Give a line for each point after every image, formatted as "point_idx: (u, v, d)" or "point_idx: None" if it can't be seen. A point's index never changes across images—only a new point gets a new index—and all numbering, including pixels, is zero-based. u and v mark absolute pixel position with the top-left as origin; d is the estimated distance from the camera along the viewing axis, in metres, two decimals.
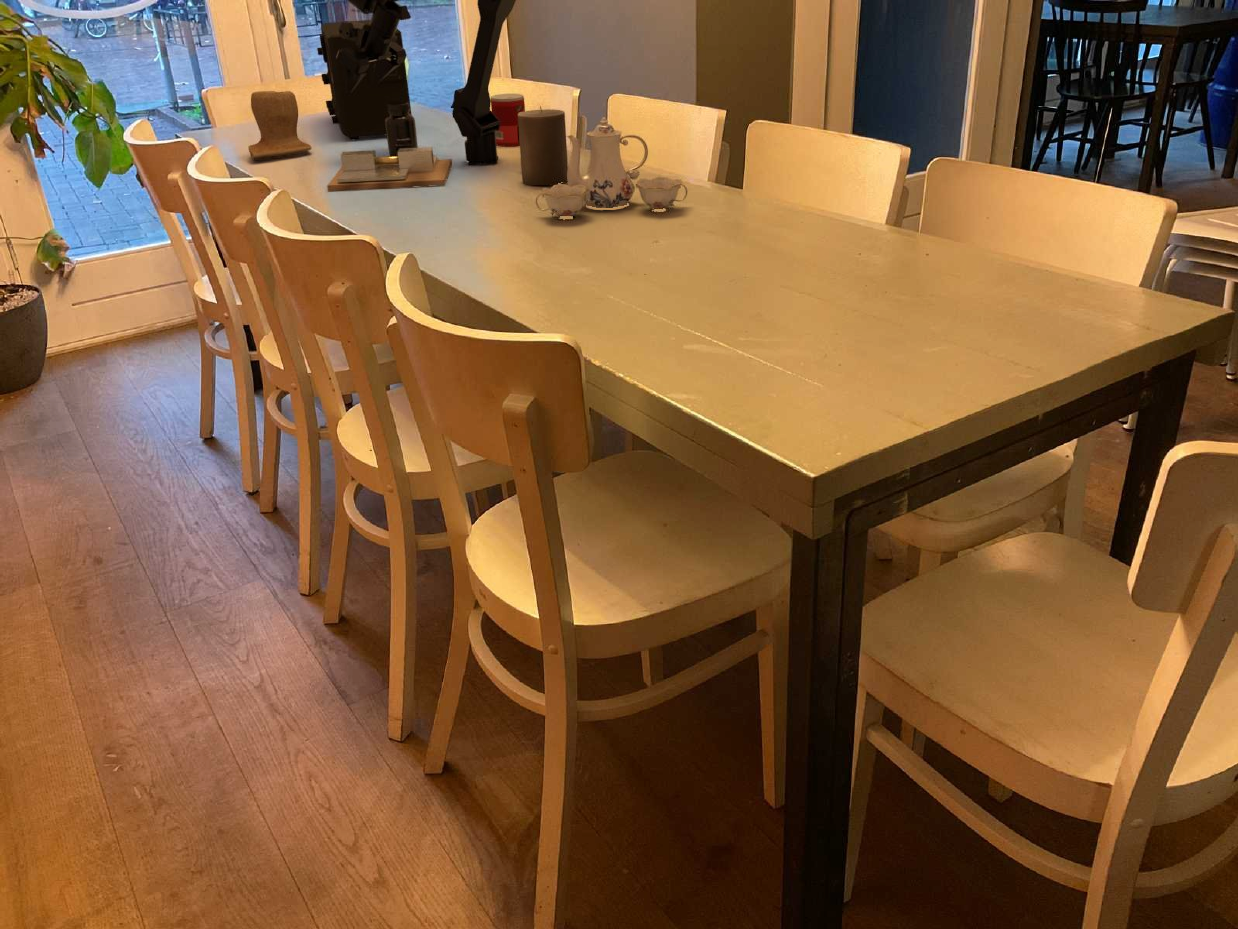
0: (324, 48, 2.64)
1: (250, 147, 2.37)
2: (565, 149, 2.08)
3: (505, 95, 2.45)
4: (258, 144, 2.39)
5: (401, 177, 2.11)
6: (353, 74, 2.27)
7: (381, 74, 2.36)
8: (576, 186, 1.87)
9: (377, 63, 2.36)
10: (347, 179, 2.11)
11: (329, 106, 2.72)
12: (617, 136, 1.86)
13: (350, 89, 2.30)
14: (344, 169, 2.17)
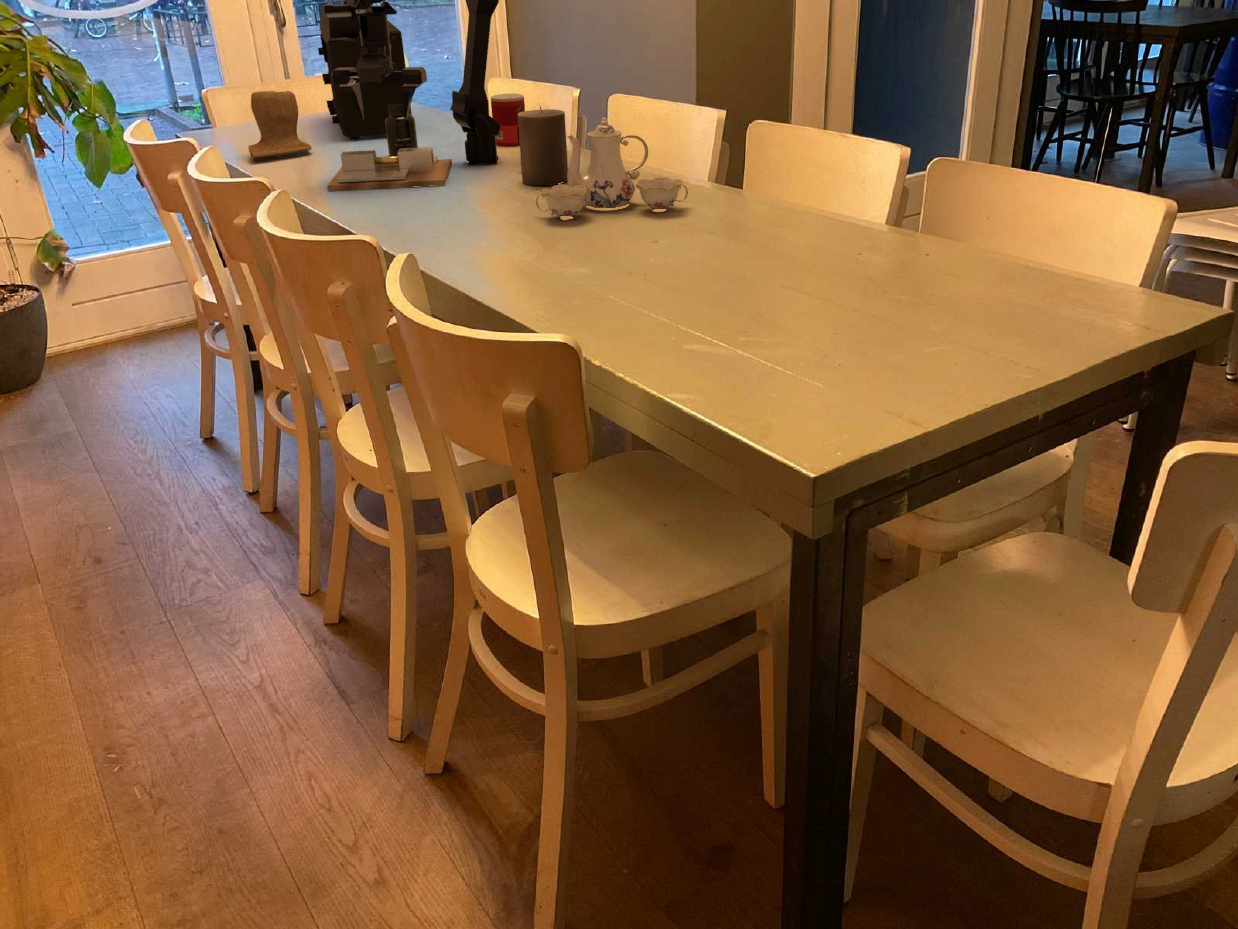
0: (325, 48, 2.64)
1: (250, 147, 2.37)
2: (565, 149, 2.08)
3: (505, 95, 2.45)
4: (258, 144, 2.39)
5: (401, 177, 2.11)
6: None
7: (361, 101, 2.13)
8: (576, 186, 1.87)
9: (357, 95, 2.11)
10: (347, 179, 2.11)
11: (330, 106, 2.72)
12: (617, 136, 1.85)
13: None
14: (344, 169, 2.17)
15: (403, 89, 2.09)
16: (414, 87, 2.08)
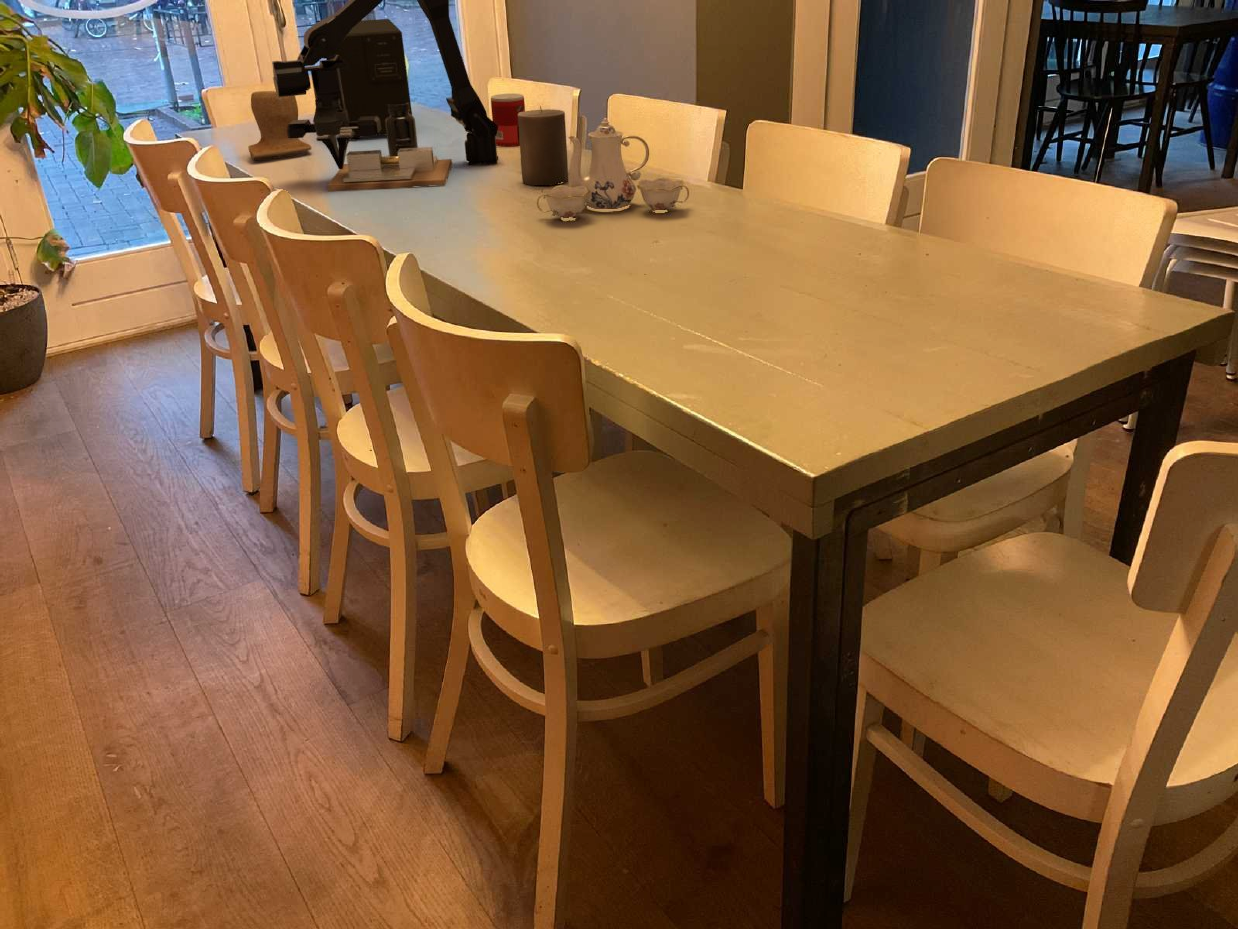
0: None
1: (250, 147, 2.37)
2: (565, 149, 2.08)
3: (505, 95, 2.45)
4: (258, 144, 2.39)
5: (407, 177, 2.11)
6: None
7: (338, 151, 2.18)
8: (577, 187, 1.86)
9: (334, 146, 2.15)
10: (353, 179, 2.11)
11: None
12: (618, 137, 1.85)
13: (343, 163, 2.18)
14: (350, 169, 2.17)
15: (338, 140, 2.13)
16: (349, 138, 2.13)
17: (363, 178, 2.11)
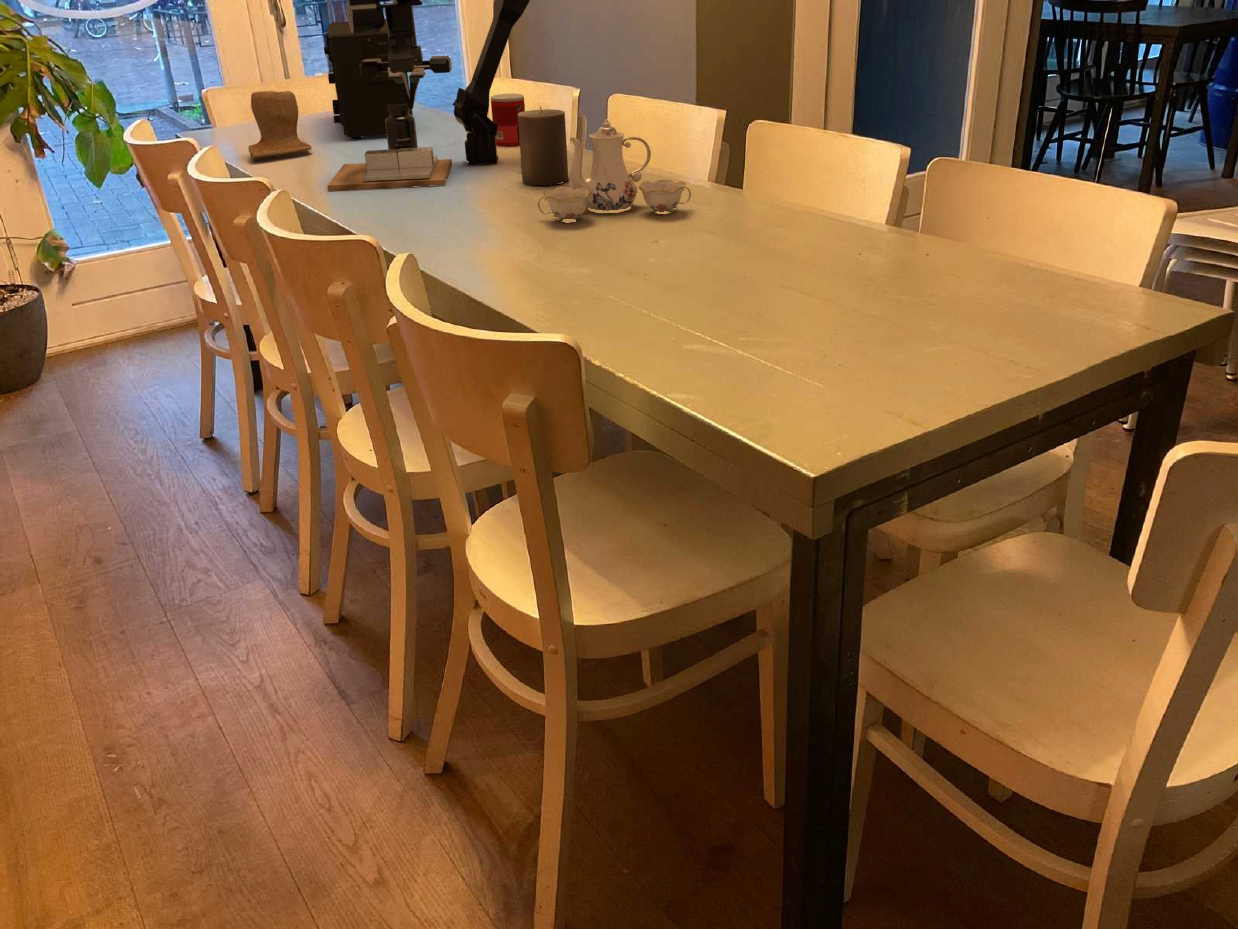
0: (329, 47, 2.64)
1: (250, 147, 2.37)
2: (565, 149, 2.08)
3: (505, 95, 2.45)
4: (258, 144, 2.39)
5: (425, 176, 2.11)
6: None
7: (408, 91, 2.18)
8: (579, 189, 1.85)
9: (405, 85, 2.16)
10: (371, 178, 2.11)
11: (334, 105, 2.73)
12: (620, 138, 1.84)
13: None
14: (368, 168, 2.17)
15: (410, 79, 2.14)
16: (421, 76, 2.14)
17: (381, 177, 2.11)
